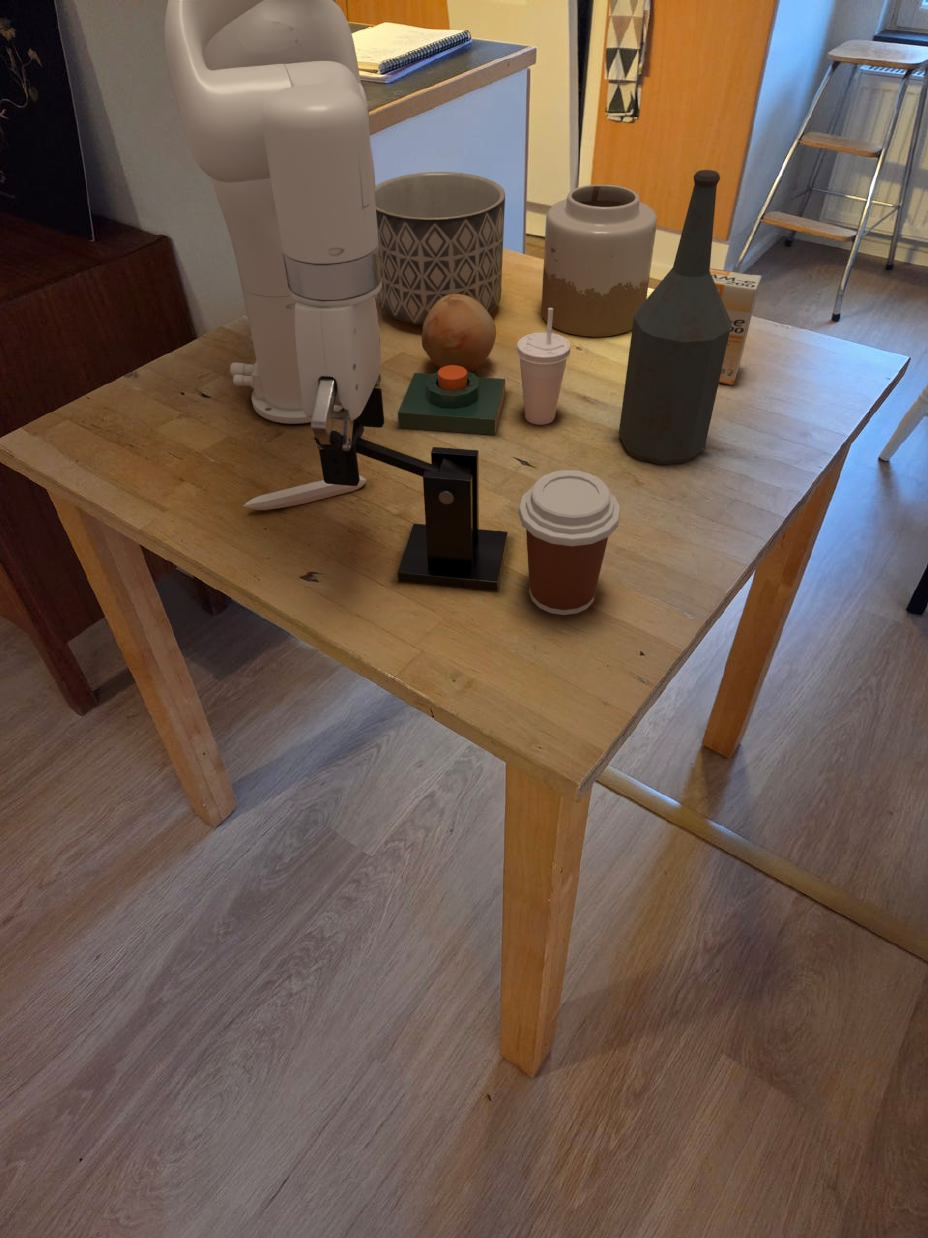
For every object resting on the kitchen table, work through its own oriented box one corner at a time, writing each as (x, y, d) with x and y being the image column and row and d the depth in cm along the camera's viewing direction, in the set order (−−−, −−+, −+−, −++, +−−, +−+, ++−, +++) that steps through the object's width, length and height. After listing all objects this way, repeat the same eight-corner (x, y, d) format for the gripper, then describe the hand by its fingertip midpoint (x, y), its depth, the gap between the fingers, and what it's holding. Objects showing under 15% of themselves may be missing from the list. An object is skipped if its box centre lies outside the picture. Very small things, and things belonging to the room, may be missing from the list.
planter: (504, 337, 122) (506, 217, 110) (371, 338, 122) (359, 219, 111) (502, 282, 136) (503, 170, 124) (382, 283, 136) (373, 172, 124)
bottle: (653, 411, 107) (695, 149, 86) (720, 441, 101) (782, 170, 81) (601, 444, 101) (633, 173, 81) (669, 477, 96) (721, 197, 75)
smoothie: (562, 432, 103) (570, 322, 94) (510, 427, 104) (513, 318, 95) (568, 406, 108) (576, 298, 98) (518, 401, 109) (522, 294, 99)
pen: (243, 511, 93) (240, 498, 92) (364, 480, 97) (363, 468, 96) (246, 519, 92) (243, 506, 91) (368, 488, 96) (367, 475, 95)
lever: (333, 464, 77) (338, 443, 76) (347, 435, 81) (352, 414, 79) (457, 509, 79) (465, 490, 77) (465, 478, 82) (473, 459, 81)
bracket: (397, 581, 84) (388, 483, 76) (414, 532, 90) (407, 435, 82) (497, 591, 83) (499, 492, 75) (507, 540, 89) (510, 443, 80)
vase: (617, 347, 119) (632, 223, 107) (522, 322, 125) (527, 202, 113) (659, 306, 128) (677, 188, 117) (569, 285, 134) (578, 171, 123)
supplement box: (671, 376, 113) (688, 278, 104) (678, 360, 116) (695, 264, 107) (734, 387, 111) (756, 288, 102) (739, 370, 114) (762, 273, 105)
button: (435, 391, 104) (435, 378, 103) (441, 376, 107) (440, 363, 105) (464, 393, 104) (464, 380, 102) (469, 378, 106) (469, 365, 105)
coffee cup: (559, 550, 87) (567, 450, 79) (628, 592, 83) (644, 492, 74) (496, 591, 83) (497, 491, 75) (565, 639, 78) (575, 537, 70)
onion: (507, 377, 113) (509, 304, 106) (438, 392, 111) (435, 318, 104) (479, 346, 120) (479, 275, 113) (413, 359, 117) (409, 288, 110)
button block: (398, 428, 105) (396, 399, 102) (415, 387, 112) (413, 359, 109) (495, 435, 103) (495, 405, 100) (505, 394, 110) (505, 365, 108)
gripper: (318, 227, 74) (341, 403, 86) (251, 314, 62) (289, 504, 74) (402, 231, 73) (413, 408, 85) (351, 320, 61) (373, 512, 73)
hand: (355, 452), depth 79 cm, fingers open, 9 cm apart
